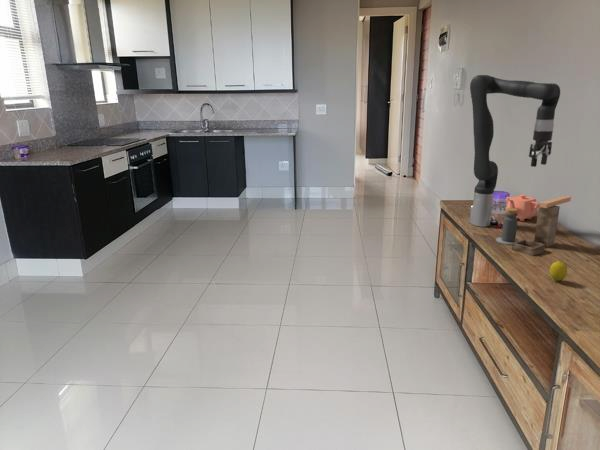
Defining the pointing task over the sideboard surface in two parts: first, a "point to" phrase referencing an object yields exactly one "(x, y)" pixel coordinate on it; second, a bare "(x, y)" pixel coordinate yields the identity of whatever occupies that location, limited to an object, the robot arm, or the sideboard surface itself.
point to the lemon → (558, 270)
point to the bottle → (510, 225)
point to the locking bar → (555, 201)
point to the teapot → (523, 206)
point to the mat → (505, 242)
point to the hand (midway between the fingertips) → (538, 165)
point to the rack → (540, 232)
